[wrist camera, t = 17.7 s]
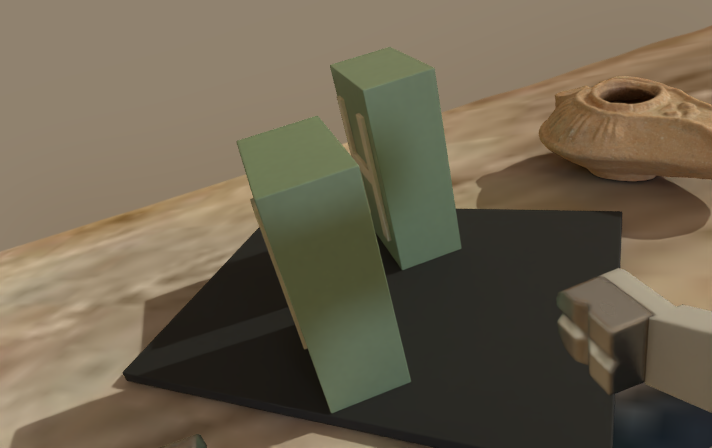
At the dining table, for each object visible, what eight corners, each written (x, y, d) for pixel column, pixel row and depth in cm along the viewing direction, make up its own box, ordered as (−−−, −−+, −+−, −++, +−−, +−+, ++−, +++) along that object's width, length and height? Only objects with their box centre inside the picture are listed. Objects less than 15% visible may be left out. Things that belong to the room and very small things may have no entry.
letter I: (326, 416, 22) (247, 202, 17) (298, 327, 27) (231, 142, 22) (411, 382, 23) (359, 164, 18) (367, 301, 28) (317, 115, 23)
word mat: (126, 381, 27) (121, 372, 27) (281, 212, 39) (279, 205, 39) (611, 486, 18) (611, 474, 17) (621, 220, 30) (622, 211, 29)
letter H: (398, 272, 29) (358, 91, 24) (365, 223, 34) (326, 66, 29) (462, 248, 30) (435, 67, 25) (419, 204, 35) (390, 46, 30)
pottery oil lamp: (720, 236, 26) (645, 121, 24) (562, 215, 38) (503, 136, 36) (833, 116, 27) (769, -2, 25) (646, 131, 39) (593, 50, 37)
